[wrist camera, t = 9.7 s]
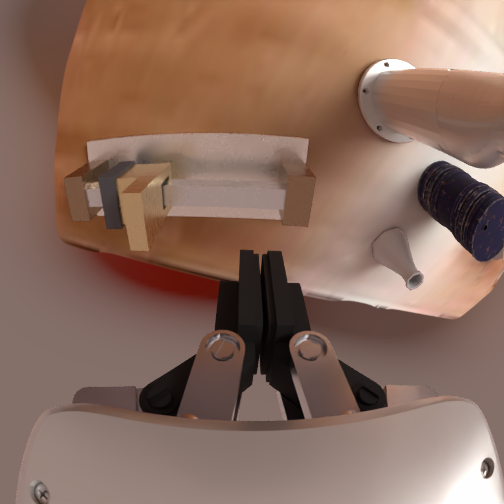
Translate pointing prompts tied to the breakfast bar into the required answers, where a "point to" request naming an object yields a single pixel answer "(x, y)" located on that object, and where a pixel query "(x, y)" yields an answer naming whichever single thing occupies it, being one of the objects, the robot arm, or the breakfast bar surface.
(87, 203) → the pipe rig
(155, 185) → the wooden block
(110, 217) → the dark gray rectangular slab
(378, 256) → the flask
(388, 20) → the breakfast bar surface
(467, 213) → the storage jar
